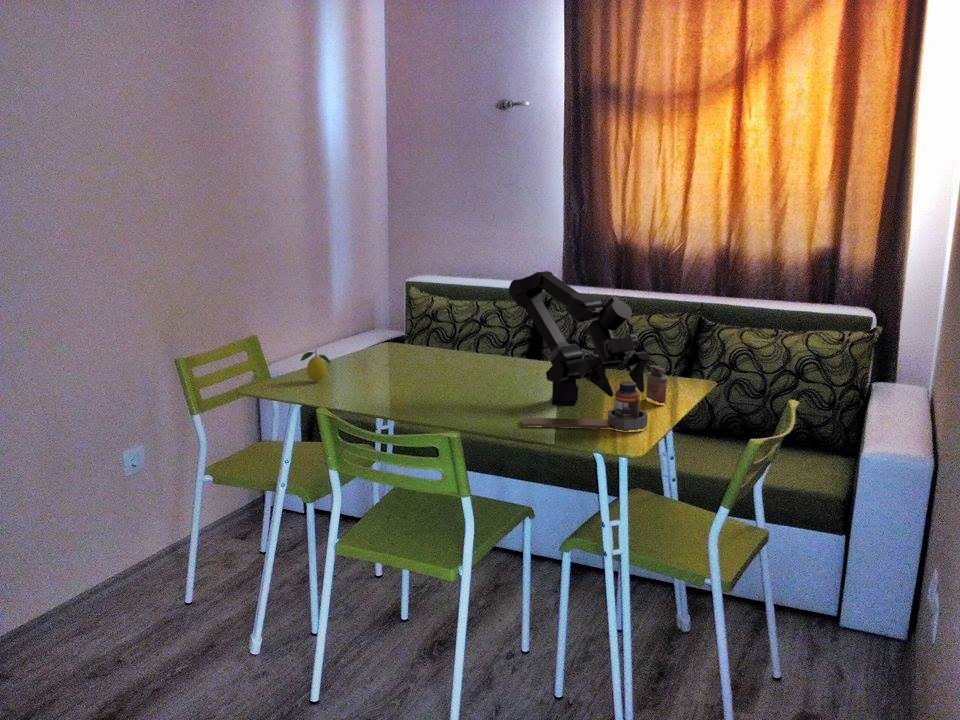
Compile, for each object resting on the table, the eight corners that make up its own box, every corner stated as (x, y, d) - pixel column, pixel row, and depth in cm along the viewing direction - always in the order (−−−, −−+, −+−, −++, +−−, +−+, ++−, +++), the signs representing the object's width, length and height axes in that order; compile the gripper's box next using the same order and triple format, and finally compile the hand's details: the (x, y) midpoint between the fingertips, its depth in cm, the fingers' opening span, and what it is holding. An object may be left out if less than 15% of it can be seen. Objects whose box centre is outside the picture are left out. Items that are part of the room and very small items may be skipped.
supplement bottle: (632, 422, 233) (634, 379, 230) (642, 429, 227) (644, 385, 225) (610, 424, 231) (612, 380, 229) (619, 431, 226) (621, 386, 223)
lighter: (642, 398, 254) (644, 363, 252) (653, 397, 255) (655, 362, 253) (657, 406, 247) (660, 370, 244) (668, 405, 248) (671, 369, 246)
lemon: (301, 383, 266) (299, 349, 264) (311, 378, 271) (309, 345, 269) (321, 385, 264) (320, 351, 262) (331, 380, 269) (330, 347, 267)
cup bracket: (521, 430, 226) (522, 416, 225) (522, 418, 235) (522, 405, 234) (648, 433, 224) (649, 419, 224) (644, 421, 234) (644, 408, 233)
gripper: (586, 326, 224) (610, 381, 217) (649, 320, 232) (674, 373, 225) (568, 351, 233) (590, 404, 226) (629, 344, 241) (652, 396, 234)
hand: (627, 394), depth 228 cm, fingers open, 9 cm apart
